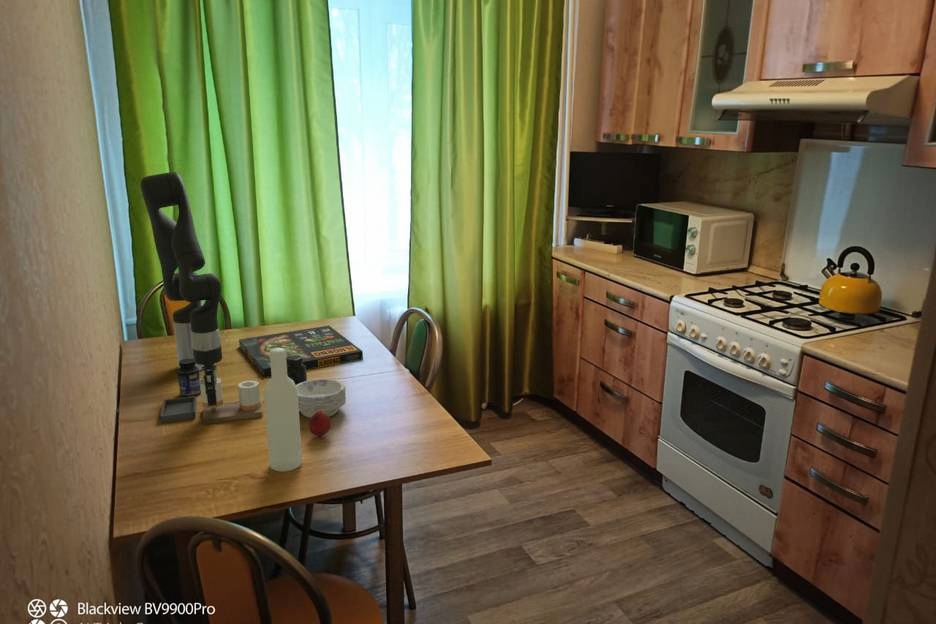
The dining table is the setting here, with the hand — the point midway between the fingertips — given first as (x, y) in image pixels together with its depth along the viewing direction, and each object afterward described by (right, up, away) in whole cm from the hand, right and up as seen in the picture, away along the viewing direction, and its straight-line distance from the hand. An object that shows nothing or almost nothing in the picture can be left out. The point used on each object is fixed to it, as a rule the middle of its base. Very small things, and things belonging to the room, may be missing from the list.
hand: (212, 400), depth 188 cm
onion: (+33, -9, -11) cm, 36 cm away
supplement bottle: (+20, 0, +17) cm, 26 cm away
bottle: (+28, -13, -25) cm, 39 cm away
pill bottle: (-13, 0, +16) cm, 21 cm away
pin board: (+5, -4, +3) cm, 7 cm away
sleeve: (0, -1, 0) cm, 1 cm away
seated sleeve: (+9, -2, +4) cm, 11 cm away
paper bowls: (+30, -4, +5) cm, 30 cm away
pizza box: (+11, +10, +53) cm, 56 cm away
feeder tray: (-11, -4, +4) cm, 12 cm away
